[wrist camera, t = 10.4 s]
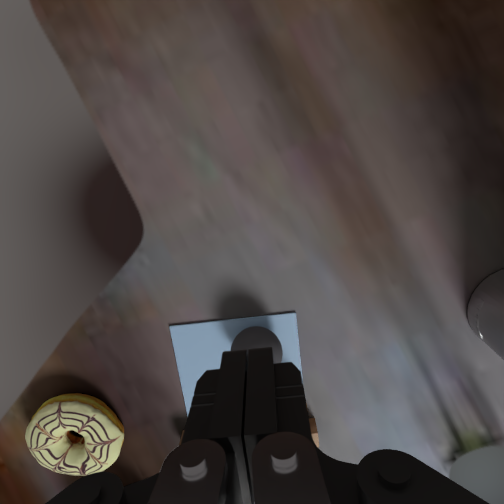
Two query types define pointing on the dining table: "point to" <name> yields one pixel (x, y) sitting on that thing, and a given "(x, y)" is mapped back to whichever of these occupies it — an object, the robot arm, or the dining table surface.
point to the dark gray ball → (258, 341)
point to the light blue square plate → (225, 345)
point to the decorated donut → (67, 444)
